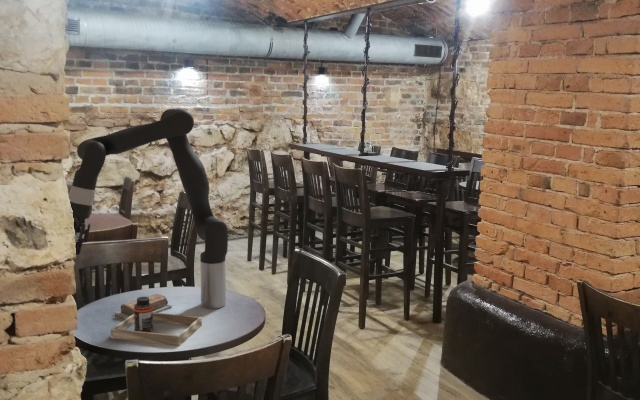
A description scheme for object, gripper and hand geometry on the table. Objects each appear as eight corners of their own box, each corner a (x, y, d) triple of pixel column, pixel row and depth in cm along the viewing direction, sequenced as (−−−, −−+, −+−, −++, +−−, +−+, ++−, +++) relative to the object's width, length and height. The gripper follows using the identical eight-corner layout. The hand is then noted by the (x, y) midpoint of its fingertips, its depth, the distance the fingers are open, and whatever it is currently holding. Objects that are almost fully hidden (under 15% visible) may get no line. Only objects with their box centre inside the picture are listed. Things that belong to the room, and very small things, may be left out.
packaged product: (154, 291, 244) (171, 296, 238) (154, 303, 244) (172, 309, 238) (113, 303, 229) (131, 309, 223) (114, 316, 230) (131, 322, 224)
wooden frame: (137, 319, 226) (137, 311, 226) (201, 325, 221) (201, 317, 221) (111, 338, 209) (110, 329, 208) (179, 345, 204) (179, 336, 203)
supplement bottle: (133, 328, 218) (132, 296, 216) (151, 326, 220) (150, 294, 218) (136, 334, 212) (134, 301, 210) (154, 332, 215) (153, 299, 213)
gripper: (102, 207, 203) (91, 257, 203) (80, 200, 212) (69, 247, 212) (80, 204, 197) (69, 255, 197) (58, 196, 207) (47, 245, 207)
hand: (69, 251), depth 205 cm, fingers open, 8 cm apart
